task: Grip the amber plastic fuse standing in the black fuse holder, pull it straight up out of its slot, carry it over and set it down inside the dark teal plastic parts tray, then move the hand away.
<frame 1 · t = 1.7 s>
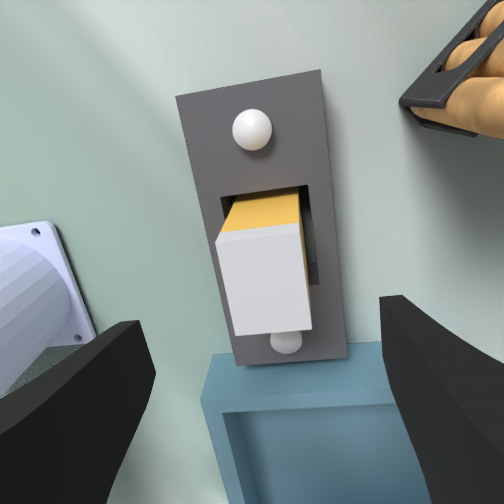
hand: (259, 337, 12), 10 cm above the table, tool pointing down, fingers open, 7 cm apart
parts tray: (336, 432, 26), on the table
fuse: (273, 224, 21), resting in fuse holder
fuse holder: (273, 224, 21), on the table
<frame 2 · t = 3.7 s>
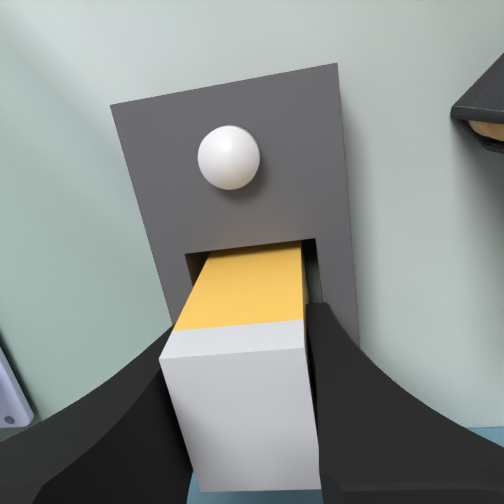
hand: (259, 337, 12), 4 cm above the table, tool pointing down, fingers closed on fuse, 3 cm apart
fuse: (266, 280, 15), resting in fuse holder, touching gripper
fuse holder: (266, 281, 15), on the table
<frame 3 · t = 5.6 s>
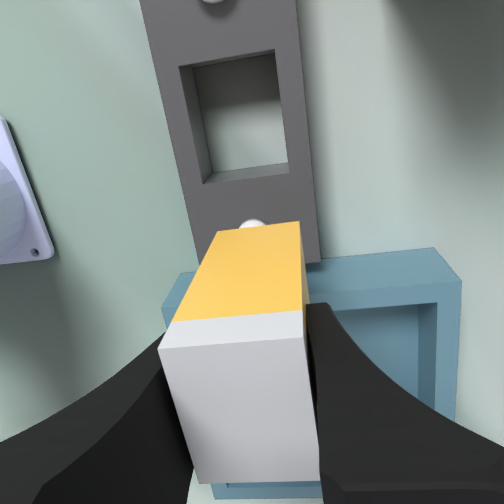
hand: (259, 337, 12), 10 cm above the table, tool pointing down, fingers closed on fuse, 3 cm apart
parts tray: (313, 362, 25), on the table
fuse: (266, 275, 15), point 7 cm above the table, touching gripper
fuse holder: (242, 116, 19), on the table
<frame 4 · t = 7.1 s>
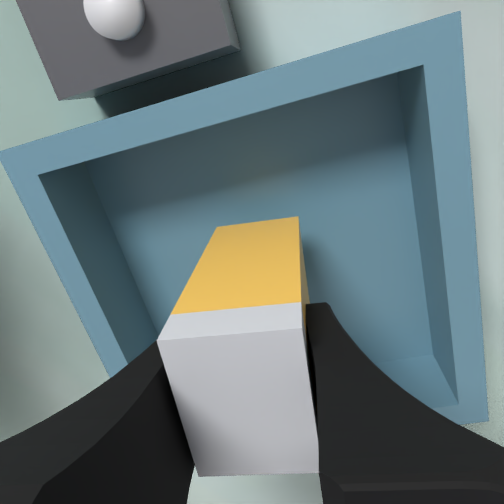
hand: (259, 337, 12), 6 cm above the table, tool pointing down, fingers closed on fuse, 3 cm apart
parts tray: (269, 254, 17), on the table
fuse: (265, 271, 15), point 2 cm above the table, touching gripper
when the fingers open (5 cm above the table, at t = 8.0 s): fuse stays where it is, resting on parts tray.
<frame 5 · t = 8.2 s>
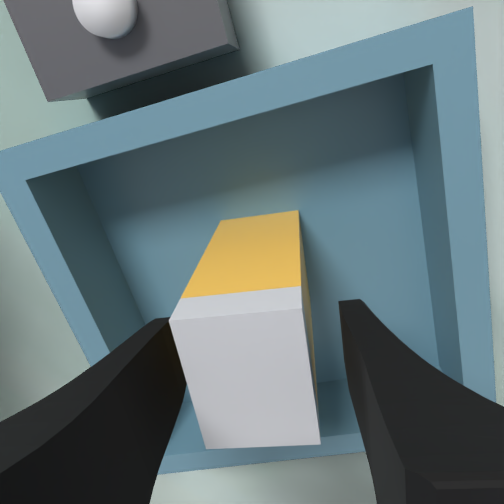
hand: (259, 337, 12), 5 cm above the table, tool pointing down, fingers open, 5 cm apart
parts tray: (269, 261, 17), on the table
fuse: (267, 262, 16), point 1 cm above the table, touching parts tray
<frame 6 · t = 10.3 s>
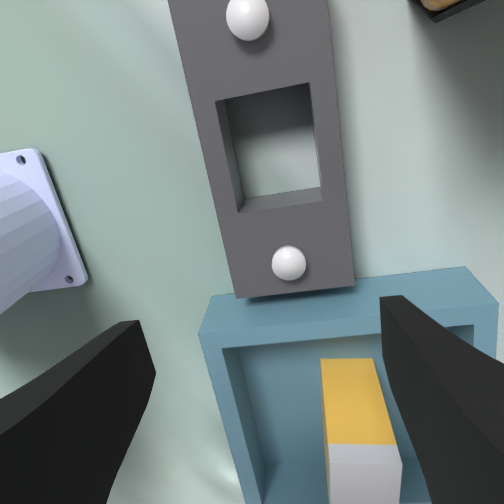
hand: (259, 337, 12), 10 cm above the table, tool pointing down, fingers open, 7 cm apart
parts tray: (344, 380, 25), on the table
fuse: (345, 385, 24), point 1 cm above the table, touching parts tray
fuse holder: (273, 144, 20), on the table
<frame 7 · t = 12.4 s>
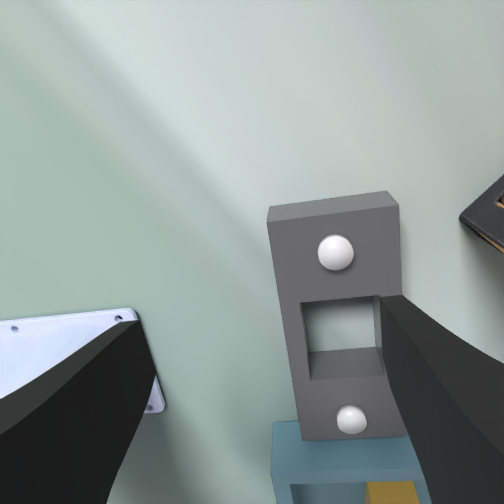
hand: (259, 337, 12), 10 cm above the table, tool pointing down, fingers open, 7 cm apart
parts tray: (384, 490, 28), on the table
fuse: (387, 498, 28), point 1 cm above the table, touching parts tray
fuse holder: (338, 314, 23), on the table
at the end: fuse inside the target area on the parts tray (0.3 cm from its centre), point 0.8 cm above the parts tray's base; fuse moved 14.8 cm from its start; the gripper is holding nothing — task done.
